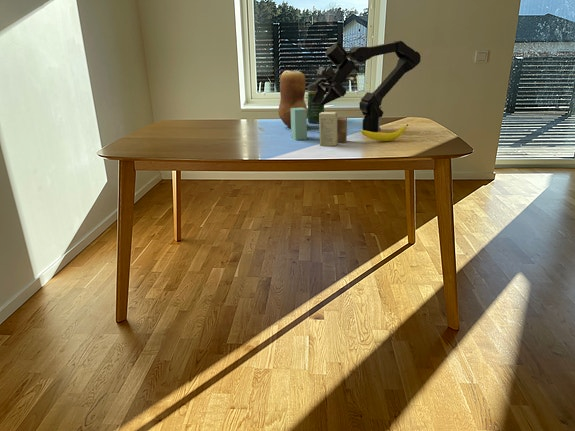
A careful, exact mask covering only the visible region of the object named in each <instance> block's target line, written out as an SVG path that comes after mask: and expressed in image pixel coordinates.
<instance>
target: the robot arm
mask: <svg viewBox="0 0 575 431" xmlns="http://www.w3.org/2000/svg"><path fill="white" fill-rule="evenodd" d="M344 48H345V47H343V46H342V44H341V43H340V42H339V41H336V42H335V43H334V44H332V45H331V46H330V47H328V48H327V49H326V51H325V54H324V55H325V56H326V58H328V59H329V60H330V62H331V63H332V64H333V65H335V66H336V65H338V66H337V67H336V69H334V67H332V66H327V67H326V66H325V67H324V66H319V67H318V70H317V73H316V75H317V76H321V77H323V78H321V77H319V78H317V79H316V80H315V83H316V88H317V89H316V92H315V94H314V96H313V99H312V102H315V101H317V100H318V99H320V98H321V97H323V96H324V99H323V100H322V102H321V105H324V106H325V105H327V104H328V103H331V102H333V101H335V100H337V99H340V98H342V97H344V96H345V95H347V89H346V88H345V86H343V83H347V82H348V80H347V79H348V78H349V76H350V75H351V74H352V73H353V72H354V73H360V65H359V64H356V63H364V62H366V61H368V60H370V59H371V58H373V57H377V56H381V55H386V54H391V53H394V54H395V55H396V57H397V58H398V60H397V63H396V66H395V67H394V68H393V70H392V71H391V72H390V73H389V74H388V75H387V76H386V77H385V79H384V80H383V81H382V82H381V83H380V84H379V85H378V86H377V87H376V89H375V90H373V92H369V91H367V92H365V94H364V95H363V97H362V98H360V102H359V110H360V111H361V114H362V116H364V118H363V119H362V130H365V131H370V132H375V133H379V131H380V130H381V127H380V124H381V122H380V121H381V118H382V117H383V116H384V111H383V110H382V109H381V105H382V102H383V99H384V98H385V97H386V95H387V94H388V93H389V92H390V91H391V90H392V88H393V87H394V86H396V84H397V83H398V82H399V81H400V80H401V79H402V77H403V76H404V75H405V74H406V73H408V72H410V71H411V70H413V69H414V68H416V67H417V66H418V65H420V64H421V58H422V56H421V54H420V52H419V51H415V50H414V49H413V48H412V47H410V46H408V45H407V44H406V43H405V42H404V41H402V40H394V41H391V42H387V43H383V44H382V43H381V44H376V45H373V46H372V45H371V46H353V47H351V48H350V50H345V49H344Z"/></svg>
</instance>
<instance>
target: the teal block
mask: <svg viewBox="0 0 575 431" xmlns="http://www.w3.org/2000/svg"><path fill="white" fill-rule="evenodd" d="M307 110H308V108H307V109H305V108H302V107H301V108H291V128H290V133H291V134H290V136H291V137H290V138H291V139H292V140H294V141H299V140H308V117H307Z"/></svg>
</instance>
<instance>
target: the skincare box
mask: <svg viewBox="0 0 575 431" xmlns="http://www.w3.org/2000/svg"><path fill="white" fill-rule="evenodd" d="M337 118H338V111H328V112H327V111H324V112H321V113H320V114H319V124H318V125H319V146H322V147H323V146H327V147H328V146H332V147H334V146H337V145H338V143H337Z"/></svg>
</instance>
